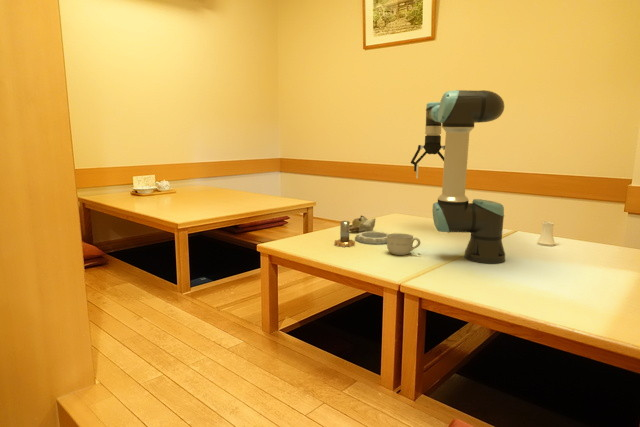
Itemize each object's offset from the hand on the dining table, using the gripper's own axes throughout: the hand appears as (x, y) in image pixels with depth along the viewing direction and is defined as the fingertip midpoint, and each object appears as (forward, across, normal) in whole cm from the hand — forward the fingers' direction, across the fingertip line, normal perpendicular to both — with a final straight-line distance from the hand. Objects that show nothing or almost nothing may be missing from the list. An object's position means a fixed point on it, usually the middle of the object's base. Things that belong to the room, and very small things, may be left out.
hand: (431, 178), depth 217 cm
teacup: (+28, +9, +46) cm, 54 cm away
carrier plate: (+27, +24, +24) cm, 44 cm away
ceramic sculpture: (+28, +33, +9) cm, 44 cm away
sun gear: (+27, +35, +37) cm, 58 cm away
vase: (+27, -52, +11) cm, 60 cm away
